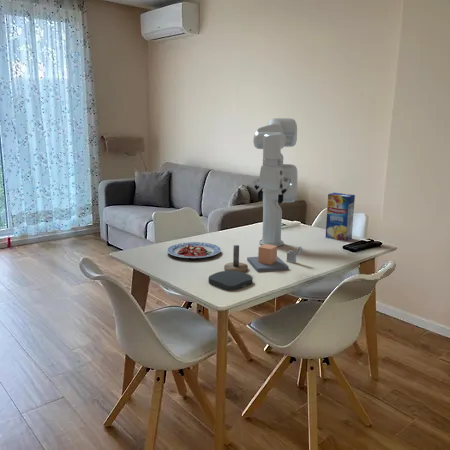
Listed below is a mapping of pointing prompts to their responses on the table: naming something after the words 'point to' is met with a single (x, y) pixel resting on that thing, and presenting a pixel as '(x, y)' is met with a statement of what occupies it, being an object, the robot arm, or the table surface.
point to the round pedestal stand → (236, 262)
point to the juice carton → (340, 216)
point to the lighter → (293, 255)
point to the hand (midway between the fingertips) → (270, 201)
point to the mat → (267, 265)
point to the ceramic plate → (193, 250)
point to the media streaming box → (230, 280)
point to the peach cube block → (267, 254)
